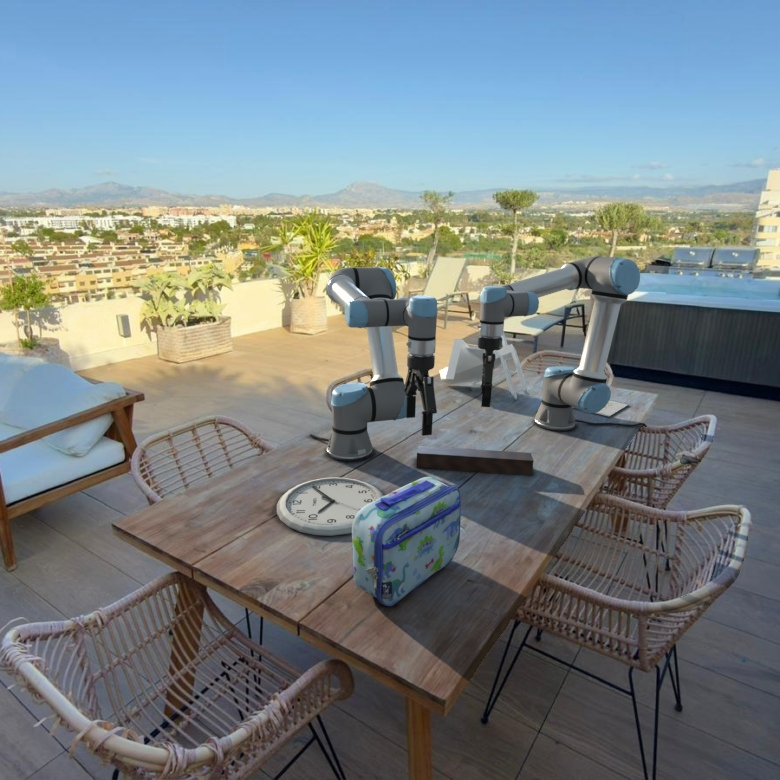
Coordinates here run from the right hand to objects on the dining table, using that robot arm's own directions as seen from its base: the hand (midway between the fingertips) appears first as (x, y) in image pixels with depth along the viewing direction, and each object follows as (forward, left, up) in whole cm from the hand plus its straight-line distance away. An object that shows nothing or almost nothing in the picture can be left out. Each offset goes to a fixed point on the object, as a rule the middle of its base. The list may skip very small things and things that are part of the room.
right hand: (485, 400), depth 171 cm
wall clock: (+42, +41, -19) cm, 62 cm away
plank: (+3, +11, -19) cm, 22 cm away
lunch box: (+19, +69, -19) cm, 74 cm away
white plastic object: (-2, -70, -19) cm, 73 cm away
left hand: (+20, +25, -1) cm, 32 cm away
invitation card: (-54, -58, -19) cm, 82 cm away
